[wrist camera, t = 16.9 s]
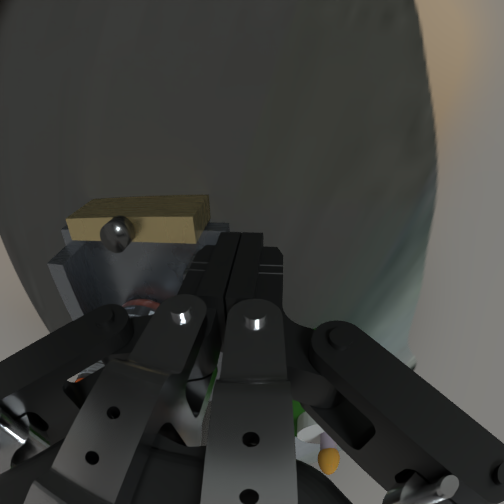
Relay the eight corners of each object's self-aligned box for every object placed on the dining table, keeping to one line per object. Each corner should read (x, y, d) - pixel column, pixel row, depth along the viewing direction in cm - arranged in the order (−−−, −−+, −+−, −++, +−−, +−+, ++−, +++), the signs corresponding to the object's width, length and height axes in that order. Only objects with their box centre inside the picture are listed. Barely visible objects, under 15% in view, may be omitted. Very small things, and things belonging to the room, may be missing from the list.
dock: (68, 223, 17) (39, 247, 14) (228, 223, 16) (215, 255, 13) (120, 353, 24) (106, 380, 21) (239, 371, 23) (234, 404, 20)
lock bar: (92, 197, 16) (54, 225, 12) (208, 193, 15) (185, 224, 12) (97, 220, 17) (63, 250, 13) (210, 219, 16) (190, 256, 13)
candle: (266, 381, 24) (255, 483, 15) (284, 320, 19) (277, 456, 11) (351, 388, 23) (359, 483, 15) (388, 330, 19) (418, 448, 11)
